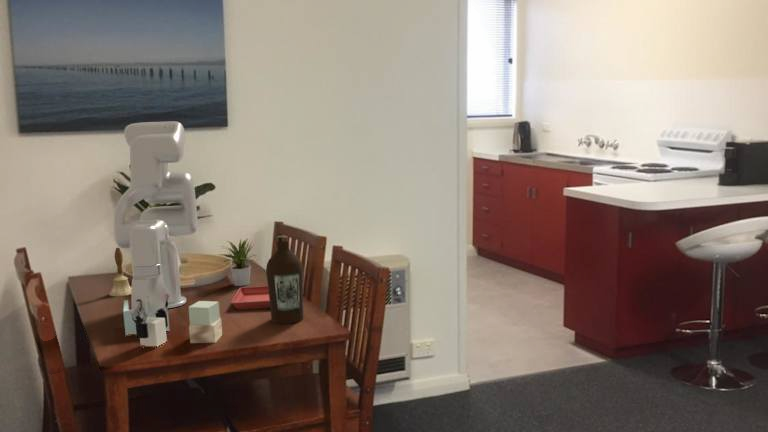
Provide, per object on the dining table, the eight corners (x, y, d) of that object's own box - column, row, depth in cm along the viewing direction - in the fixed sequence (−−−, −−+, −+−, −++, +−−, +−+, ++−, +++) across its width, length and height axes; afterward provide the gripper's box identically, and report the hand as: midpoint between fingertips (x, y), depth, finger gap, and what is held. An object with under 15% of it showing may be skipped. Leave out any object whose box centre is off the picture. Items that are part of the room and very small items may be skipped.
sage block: (189, 324, 219) (188, 307, 218) (200, 318, 225) (199, 300, 224) (209, 325, 218) (208, 307, 217) (219, 319, 223) (218, 301, 222)
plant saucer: (231, 312, 248) (230, 301, 247) (240, 296, 266) (239, 286, 265) (289, 309, 248) (289, 299, 248) (295, 294, 266) (294, 284, 265)
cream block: (140, 347, 217) (138, 322, 216) (150, 341, 222) (148, 317, 220) (157, 348, 216) (154, 323, 214) (167, 342, 220) (164, 317, 219)
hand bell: (139, 291, 275) (135, 246, 273) (120, 297, 269) (115, 251, 266) (123, 289, 280) (119, 244, 277) (103, 295, 273) (99, 249, 270)
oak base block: (190, 343, 219) (188, 326, 218) (198, 335, 226) (196, 318, 225) (215, 343, 218) (214, 325, 217) (222, 335, 225) (221, 317, 224)
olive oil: (267, 316, 240) (261, 234, 236) (302, 312, 243) (297, 231, 239) (272, 326, 230) (266, 241, 226) (308, 322, 233) (303, 238, 229)
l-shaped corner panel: (169, 331, 230) (167, 306, 228) (125, 337, 226) (123, 311, 225) (168, 320, 241) (166, 295, 240) (126, 324, 238) (124, 300, 236)
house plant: (228, 278, 289) (225, 233, 287) (266, 277, 288) (263, 233, 285) (215, 288, 276) (211, 242, 273) (254, 288, 274) (251, 241, 271)
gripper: (152, 263, 224) (157, 322, 227) (116, 277, 208) (122, 341, 210) (176, 263, 222) (181, 323, 225) (141, 278, 206) (147, 342, 208)
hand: (152, 332), depth 218 cm, fingers open, 9 cm apart
